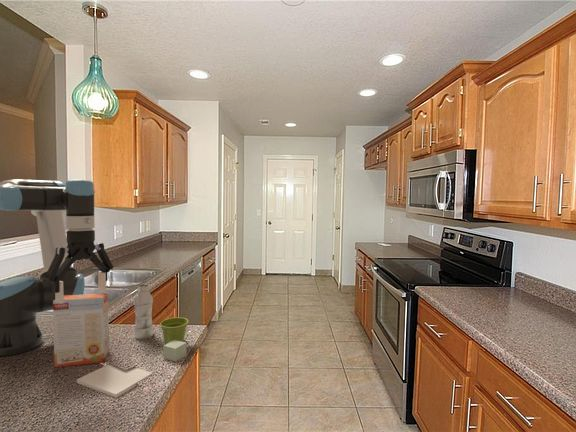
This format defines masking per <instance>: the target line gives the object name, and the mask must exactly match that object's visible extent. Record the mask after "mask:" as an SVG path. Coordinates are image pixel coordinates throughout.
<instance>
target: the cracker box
mask: <svg viewBox="0 0 576 432" xmlns="http://www.w3.org/2000/svg"><path fill="white" fill-rule="evenodd" d="M52 311H53V312H52V313H53V314H52V315H53V321H52V322H53V355H54V361H53V362H54V367H55V368H59V367H68V366H78V365H88V364H98V363H105V357H106V356H107V355H108V353H109V352H110V332H109V331H110V330H109V329H110V326H109V325H110V324H109V293H108V292H105V293H103V292H101V293H87V294H86V293H84V295H65V296H64V303H62V304H59V303H55V300H54V301H53V310H52Z"/></svg>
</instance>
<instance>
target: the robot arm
mask: <svg viewBox="0 0 576 432" xmlns="http://www.w3.org/2000/svg"><path fill="white" fill-rule="evenodd" d="M95 192H96V191H95V186H94V182H93V181H92V180H89V179H88V180H87V179H68V180H66V182H65V183H64V182H63V181H59V180H53V179H48V180H46V179H45V180H44V179H43V180H41V179H22V178H14V179H8V180H7V179H6V180H1V181H0V211H7V212H8V211H9V212H18V211H19V212H20V211H21V212H23V211H27V212H28V211H30V213H31V215H32V216H35V217H36V222H37V229H38V236H39V244H40V250H41V257H42V258H41V259H42V265H43V272H42V273H40V275H39V278H38V279H36V277H35V276H33V275H26V276H25V275H24V276H18V277H17V276H16V277H14V278H9V279H6V280H3V281H0V357H5V356H7V357H8V356H12V355H17V354H21V353H25V352H27V351H30V350H33V349H35V348H37V347H38V346H40V345H41V344H42V343H43V339H44V338H43V333H42V331H41V329H40V326H39V325H38V323H37V314H38V313H42V312H49V311H53V301H54V300H55V303H59V304H62V303H64V296H65V295H84V294H85V286H86V285H85V277H84V274H83V273H78V270H77V268H76V267H74V266H73V264H74V263H75V262H76V261H81V260H89V261H90V262H92V263H93V265H94V266H95V267H96V268H97V269H98V270H99V271H98V272H97V277H98V278H97V280H98V282H97V283H98V285H97V286H98V287H97V288H98V289H97V290H98V293H107V282H108V281H109V280H108V277H109V276H108V275H109V274H108V273H109V272H111V270H113V269H114V266H113V263H112V262H111V260H110V258H109V256H108V254H107V251H106V250H105V245H104V243H103V242H96V243H95V241H96V231H95V230H94V228H95V226H96V225H95ZM64 213H65V214H66V215H65V217H66V218H65V222H64V216H63V214H64ZM66 229H67V231H66ZM95 250H96V253H97V254H98V256H97V254H95V252H94V251H95ZM99 258H100V259H99Z"/></svg>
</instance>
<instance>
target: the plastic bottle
mask: <svg viewBox="0 0 576 432" xmlns="http://www.w3.org/2000/svg"><path fill="white" fill-rule="evenodd" d="M149 291H150V284H140V285H138V286H137V292H138V293H137V294H136V295H135V297H134V299H133V307H134V313H135V314H134V315H135V325H134V332H133V335H134V339H135V340H146V339H150V338H152V337H153V336H154V332H155V331H154V327H153V319H152V313H153V312H152V310H153V304H154V303H153V302H154V298H153V296H152V294H151V293H150V292H149Z"/></svg>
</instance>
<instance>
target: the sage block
mask: <svg viewBox="0 0 576 432" xmlns="http://www.w3.org/2000/svg"><path fill="white" fill-rule="evenodd" d="M162 349H163V350H162V351H163V359H164V360H168V361H171V362H177V361H180V359H182V358H184V357H186V356H187V342H186V341H184V342H182V341H178V340H173V341H171V342H169V343H168V344H166V345H165V344H164V345H163V347H162Z"/></svg>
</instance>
